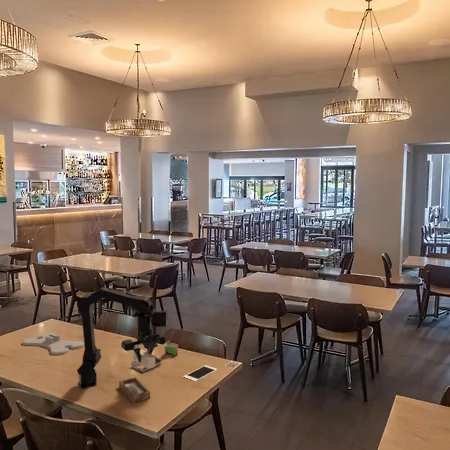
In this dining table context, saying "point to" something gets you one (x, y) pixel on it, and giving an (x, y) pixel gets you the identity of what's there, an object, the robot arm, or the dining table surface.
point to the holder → (53, 343)
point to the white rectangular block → (145, 359)
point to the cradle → (134, 389)
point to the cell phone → (200, 373)
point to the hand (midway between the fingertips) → (144, 361)
